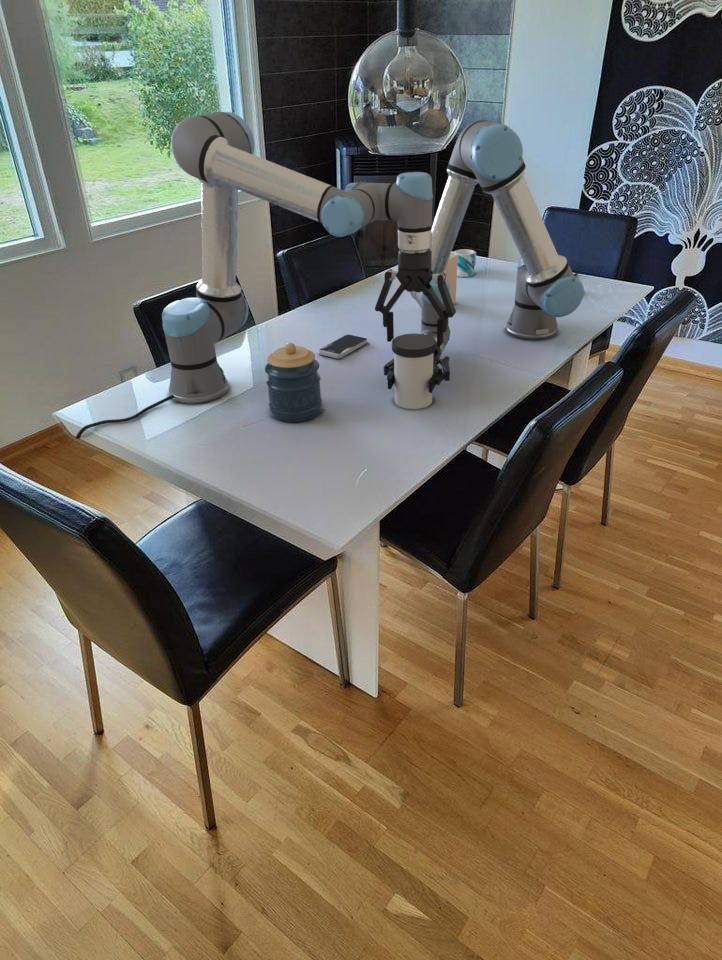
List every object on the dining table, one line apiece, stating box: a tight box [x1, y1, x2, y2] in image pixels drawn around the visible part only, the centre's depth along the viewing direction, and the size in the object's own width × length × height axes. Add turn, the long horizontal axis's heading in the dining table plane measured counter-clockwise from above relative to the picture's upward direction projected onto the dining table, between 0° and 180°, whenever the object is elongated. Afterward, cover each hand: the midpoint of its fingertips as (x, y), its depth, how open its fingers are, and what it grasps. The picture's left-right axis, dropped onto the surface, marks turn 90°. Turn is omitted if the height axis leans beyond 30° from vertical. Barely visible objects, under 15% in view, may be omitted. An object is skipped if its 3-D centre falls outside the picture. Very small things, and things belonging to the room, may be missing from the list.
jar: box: [393, 352, 433, 410], centre depth 165 cm, size 10×10×15 cm
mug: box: [453, 248, 477, 278], centre depth 259 cm, size 8×12×8 cm
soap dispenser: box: [444, 253, 458, 304], centre depth 225 cm, size 13×9×22 cm
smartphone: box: [318, 334, 368, 360], centre depth 199 cm, size 8×1×15 cm
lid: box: [391, 333, 436, 358], centre depth 161 cm, size 10×11×2 cm
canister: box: [264, 342, 323, 423], centre depth 161 cm, size 13×13×18 cm
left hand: (414, 342), depth 160 cm, fingers open, 12 cm apart
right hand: (409, 385), depth 162 cm, fingers closed on jar, 9 cm apart
